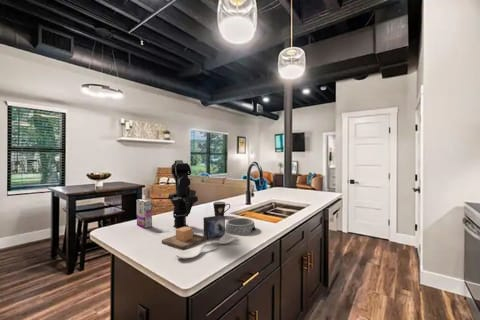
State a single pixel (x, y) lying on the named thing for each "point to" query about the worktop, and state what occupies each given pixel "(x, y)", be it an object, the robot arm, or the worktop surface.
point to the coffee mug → (220, 208)
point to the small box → (214, 227)
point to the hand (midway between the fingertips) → (183, 212)
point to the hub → (184, 233)
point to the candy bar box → (144, 213)
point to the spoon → (196, 251)
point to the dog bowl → (239, 226)
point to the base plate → (184, 244)
